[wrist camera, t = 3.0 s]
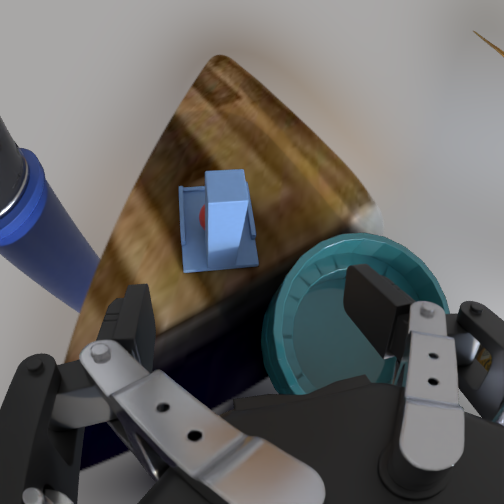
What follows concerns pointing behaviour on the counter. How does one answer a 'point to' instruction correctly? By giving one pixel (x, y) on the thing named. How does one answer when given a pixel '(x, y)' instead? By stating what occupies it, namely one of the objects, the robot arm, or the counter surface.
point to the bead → (202, 216)
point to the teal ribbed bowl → (334, 313)
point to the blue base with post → (218, 223)
